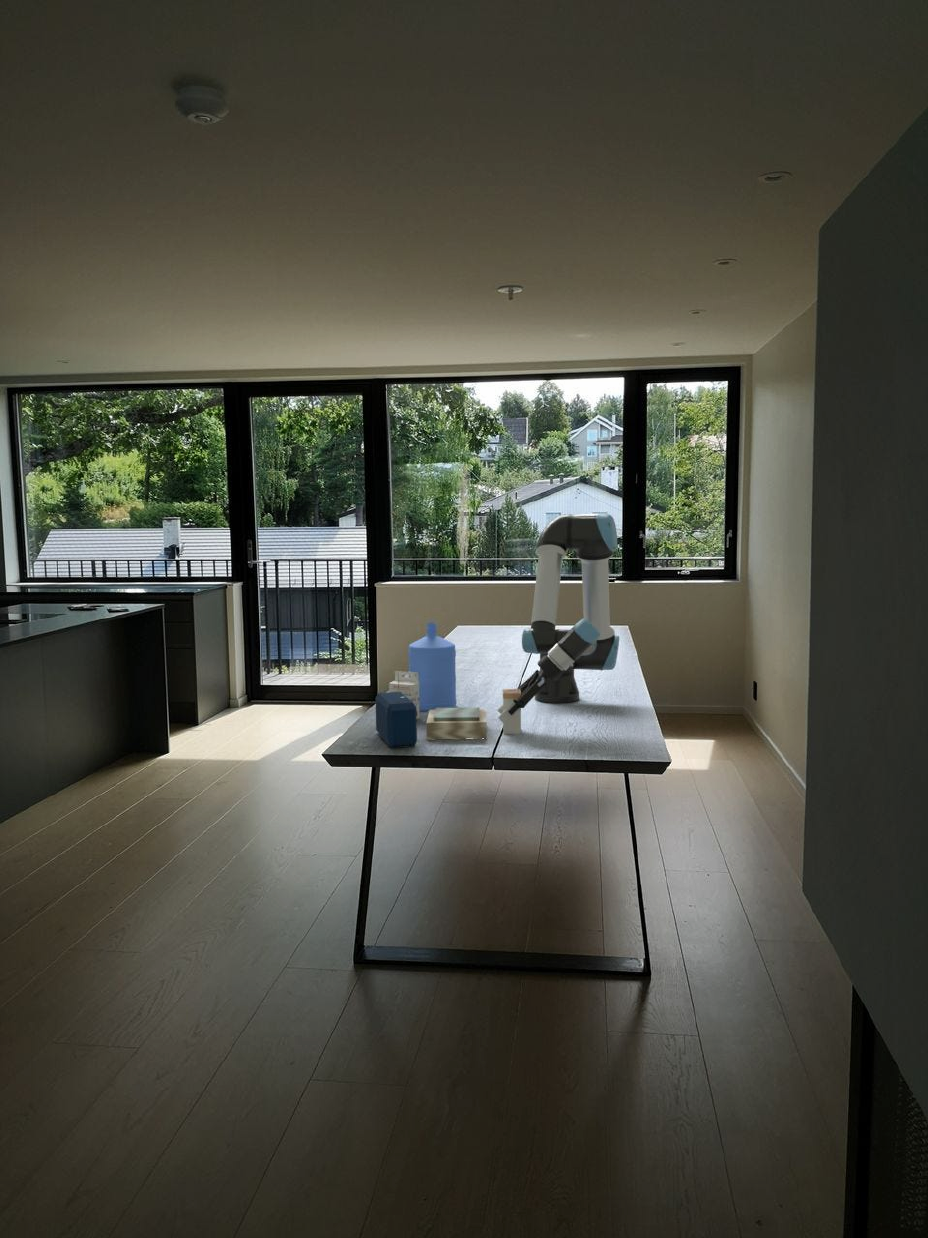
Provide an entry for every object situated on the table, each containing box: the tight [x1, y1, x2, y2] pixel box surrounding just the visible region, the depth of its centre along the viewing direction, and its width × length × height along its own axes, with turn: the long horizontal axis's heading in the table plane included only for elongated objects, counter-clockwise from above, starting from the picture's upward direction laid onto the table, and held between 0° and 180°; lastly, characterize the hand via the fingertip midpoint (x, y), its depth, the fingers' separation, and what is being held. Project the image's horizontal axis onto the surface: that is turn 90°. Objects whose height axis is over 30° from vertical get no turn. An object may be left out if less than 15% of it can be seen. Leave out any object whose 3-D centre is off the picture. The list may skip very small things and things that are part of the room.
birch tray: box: [425, 706, 488, 741], centre depth 269 cm, size 17×17×6 cm
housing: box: [502, 688, 522, 735], centre depth 270 cm, size 5×6×12 cm
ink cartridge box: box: [388, 670, 420, 720], centre depth 287 cm, size 9×5×15 cm, turn 71°
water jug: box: [407, 622, 457, 713], centre depth 303 cm, size 16×16×28 cm
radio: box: [375, 675, 418, 749], centre depth 261 cm, size 21×9×20 cm, turn 17°
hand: (500, 717), depth 270 cm, fingers open, 9 cm apart
